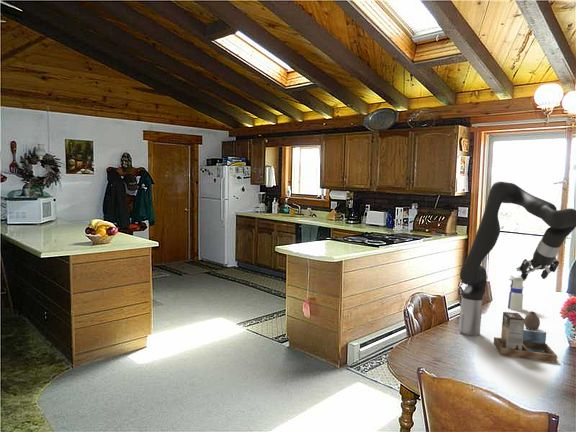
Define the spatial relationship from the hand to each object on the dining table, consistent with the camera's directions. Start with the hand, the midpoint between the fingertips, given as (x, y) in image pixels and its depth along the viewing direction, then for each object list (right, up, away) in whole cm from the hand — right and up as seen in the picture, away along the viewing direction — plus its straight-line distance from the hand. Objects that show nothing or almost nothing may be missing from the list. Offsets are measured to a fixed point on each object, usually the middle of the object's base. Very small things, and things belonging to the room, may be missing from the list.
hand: (532, 277), depth 179 cm
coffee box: (-8, -33, +3) cm, 34 cm away
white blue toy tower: (+30, -29, +69) cm, 81 cm away
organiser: (-3, -33, +2) cm, 33 cm away
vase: (+19, -31, +34) cm, 50 cm away
